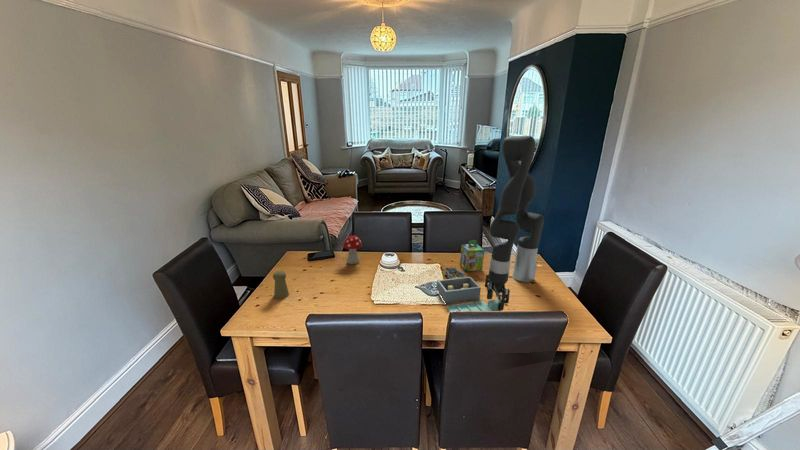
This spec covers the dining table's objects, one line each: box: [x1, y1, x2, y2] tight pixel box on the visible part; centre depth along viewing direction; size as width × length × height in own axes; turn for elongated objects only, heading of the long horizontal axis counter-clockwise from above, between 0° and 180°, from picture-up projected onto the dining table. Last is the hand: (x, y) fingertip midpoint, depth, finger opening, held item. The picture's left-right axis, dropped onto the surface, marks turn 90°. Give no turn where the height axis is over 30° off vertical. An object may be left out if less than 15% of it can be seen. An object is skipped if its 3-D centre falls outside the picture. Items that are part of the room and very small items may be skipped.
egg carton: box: [443, 266, 466, 279], centre depth 159 cm, size 11×8×4 cm
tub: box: [436, 276, 482, 305], centre depth 142 cm, size 16×10×6 cm, turn 105°
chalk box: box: [459, 239, 485, 273], centre depth 167 cm, size 9×9×15 cm
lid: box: [445, 298, 499, 313], centre depth 132 cm, size 21×11×3 cm, turn 105°
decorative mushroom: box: [342, 235, 363, 265], centre depth 170 cm, size 10×9×15 cm
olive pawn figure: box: [272, 270, 290, 300], centre depth 139 cm, size 6×6×11 cm
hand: (494, 304), depth 133 cm, fingers open, 8 cm apart
